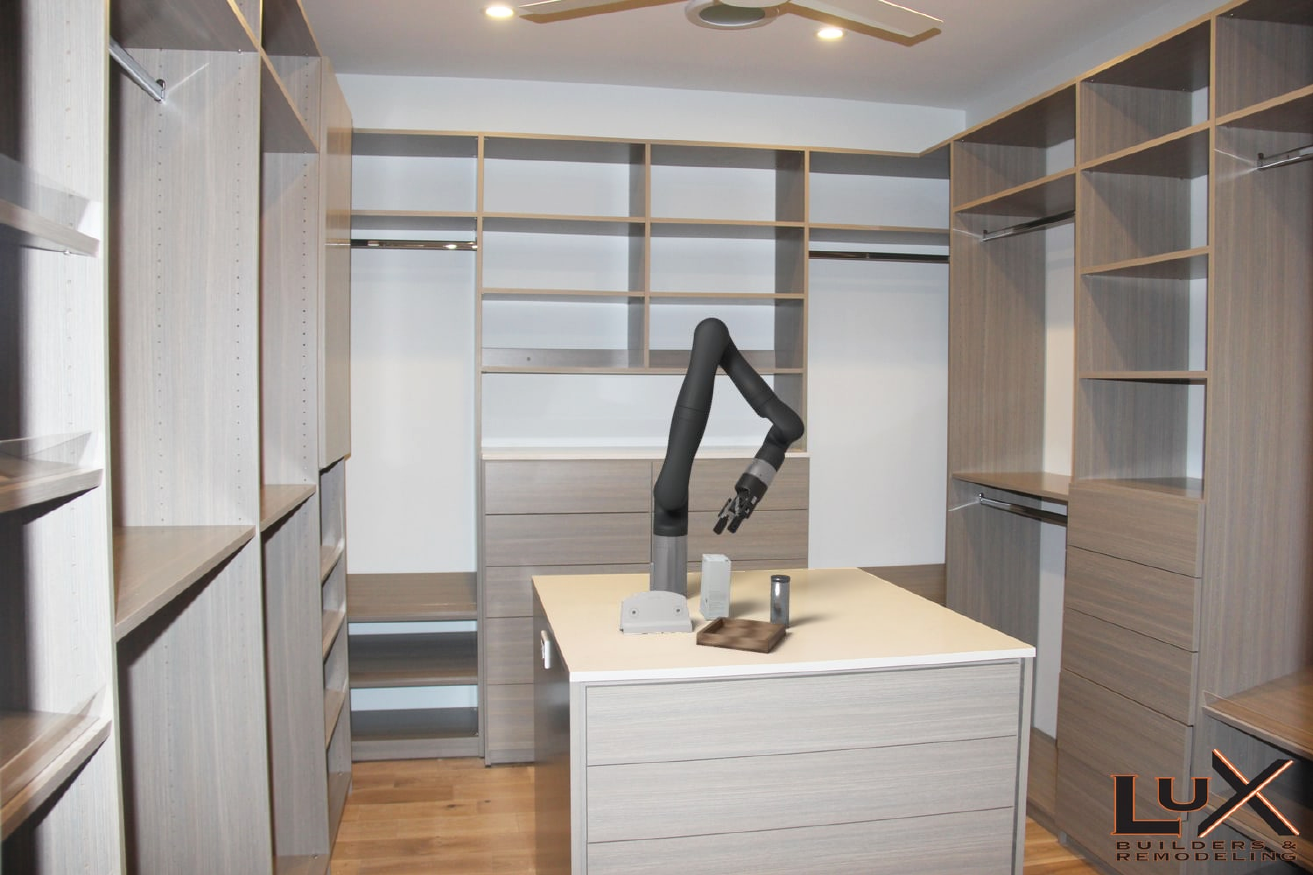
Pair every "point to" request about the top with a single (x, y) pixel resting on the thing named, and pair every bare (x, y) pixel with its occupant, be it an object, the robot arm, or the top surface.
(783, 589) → the steel canister
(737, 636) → the walnut tray
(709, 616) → the skincare box
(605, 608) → the top surface
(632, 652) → the top surface
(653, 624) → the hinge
